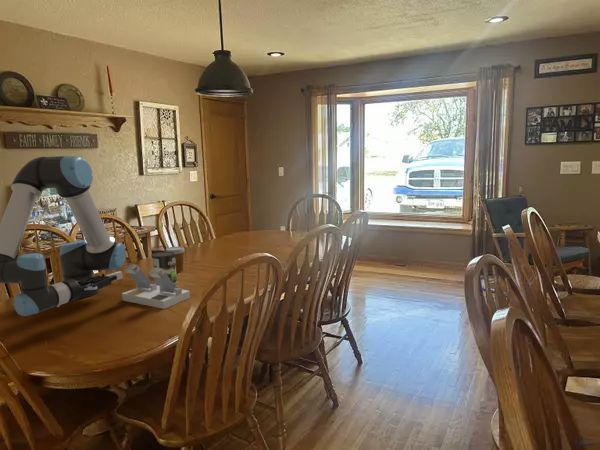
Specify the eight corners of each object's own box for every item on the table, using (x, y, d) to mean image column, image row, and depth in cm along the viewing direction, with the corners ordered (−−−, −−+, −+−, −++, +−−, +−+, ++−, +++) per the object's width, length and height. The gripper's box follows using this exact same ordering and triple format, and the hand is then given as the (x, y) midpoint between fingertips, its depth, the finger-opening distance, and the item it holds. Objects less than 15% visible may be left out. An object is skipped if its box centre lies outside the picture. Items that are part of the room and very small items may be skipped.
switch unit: (122, 300, 179) (121, 287, 178) (148, 290, 191) (147, 278, 190) (164, 308, 168) (163, 295, 167) (190, 297, 180) (189, 285, 179)
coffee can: (181, 280, 205) (179, 251, 202) (170, 287, 195) (168, 256, 192) (161, 279, 207) (158, 251, 204) (149, 286, 197) (147, 256, 195)
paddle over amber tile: (139, 288, 185) (122, 268, 176) (143, 283, 186) (126, 263, 178) (151, 290, 181) (134, 270, 173) (155, 285, 183) (138, 265, 175)
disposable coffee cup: (163, 273, 219) (160, 249, 217) (175, 268, 227) (173, 245, 225) (178, 274, 215) (176, 250, 213) (190, 269, 224) (188, 246, 222)
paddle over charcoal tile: (163, 292, 178) (146, 272, 170) (167, 287, 180) (151, 266, 172) (175, 294, 175) (159, 274, 166) (179, 289, 176) (163, 268, 168)
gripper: (54, 300, 155) (111, 281, 175) (77, 305, 149) (133, 285, 169) (52, 279, 154) (109, 263, 174) (74, 284, 148) (131, 267, 168)
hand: (121, 274), depth 172 cm, fingers closed
